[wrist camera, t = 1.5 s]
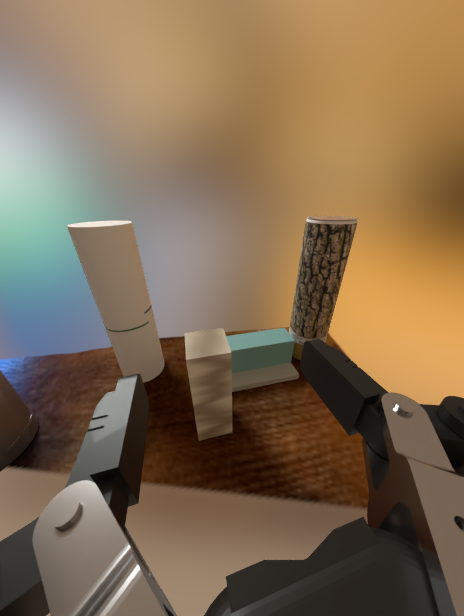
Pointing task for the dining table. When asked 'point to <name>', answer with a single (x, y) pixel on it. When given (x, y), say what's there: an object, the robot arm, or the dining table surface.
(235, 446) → the dining table surface
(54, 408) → the dining table surface
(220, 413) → the ash post
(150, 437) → the dining table surface
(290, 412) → the dining table surface
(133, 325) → the cylindrical container
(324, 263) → the bark log cylinder
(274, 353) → the stand
